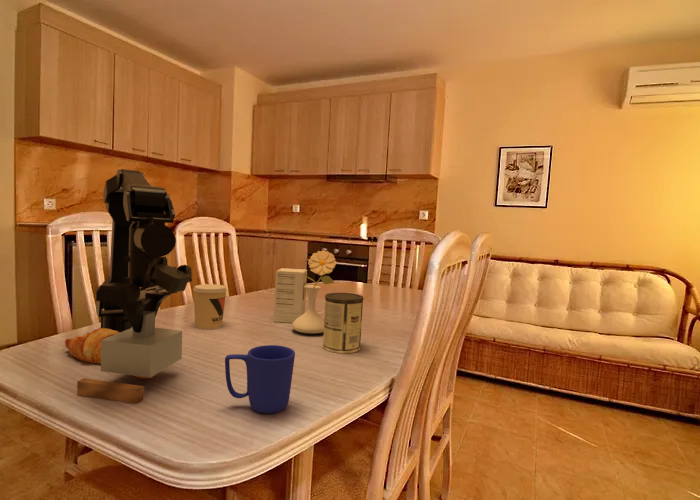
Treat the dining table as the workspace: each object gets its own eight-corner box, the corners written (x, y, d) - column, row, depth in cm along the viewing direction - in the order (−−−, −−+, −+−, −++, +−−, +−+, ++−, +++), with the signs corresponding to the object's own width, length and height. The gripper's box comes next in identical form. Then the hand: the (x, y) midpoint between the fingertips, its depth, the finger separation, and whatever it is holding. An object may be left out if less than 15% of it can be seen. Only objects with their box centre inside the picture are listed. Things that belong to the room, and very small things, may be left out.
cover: (100, 371, 77) (101, 316, 76) (137, 353, 87) (138, 304, 86) (150, 377, 75) (151, 321, 74) (181, 358, 85) (182, 309, 84)
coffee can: (333, 339, 116) (335, 290, 116) (366, 346, 112) (369, 295, 111) (315, 348, 107) (318, 295, 106) (350, 356, 103) (353, 301, 102)
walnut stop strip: (77, 394, 73) (77, 381, 72) (83, 391, 74) (84, 378, 74) (138, 403, 71) (138, 389, 71) (143, 399, 72) (144, 386, 72)
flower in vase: (283, 332, 120) (288, 248, 119) (302, 324, 131) (306, 247, 129) (323, 340, 115) (328, 252, 114) (339, 331, 126) (344, 250, 124)
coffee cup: (214, 331, 117) (216, 290, 117) (185, 327, 119) (186, 287, 118) (230, 324, 127) (232, 285, 126) (203, 320, 128) (204, 283, 128)
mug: (228, 396, 76) (230, 343, 75) (293, 397, 77) (296, 345, 76) (217, 417, 68) (220, 358, 67) (290, 418, 69) (293, 360, 68)
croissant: (152, 375, 92) (165, 340, 95) (123, 368, 83) (138, 330, 86) (75, 360, 97) (90, 328, 100) (40, 352, 88) (57, 316, 91)
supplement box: (301, 324, 132) (304, 272, 131) (272, 322, 132) (275, 270, 131) (305, 317, 141) (307, 269, 140) (278, 315, 141) (280, 267, 140)
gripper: (152, 258, 69) (150, 349, 70) (208, 251, 87) (205, 323, 88) (94, 253, 70) (92, 341, 71) (160, 247, 89) (158, 318, 90)
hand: (143, 330), depth 80 cm, fingers closed on cover, 3 cm apart
